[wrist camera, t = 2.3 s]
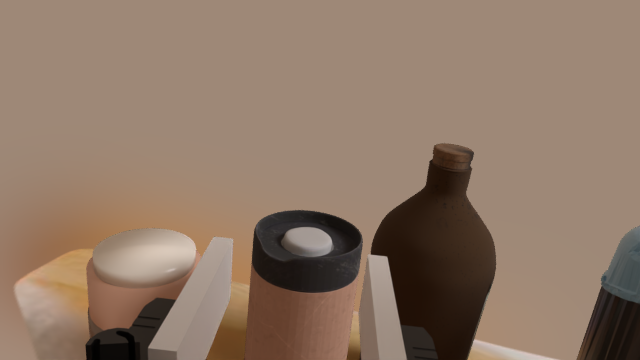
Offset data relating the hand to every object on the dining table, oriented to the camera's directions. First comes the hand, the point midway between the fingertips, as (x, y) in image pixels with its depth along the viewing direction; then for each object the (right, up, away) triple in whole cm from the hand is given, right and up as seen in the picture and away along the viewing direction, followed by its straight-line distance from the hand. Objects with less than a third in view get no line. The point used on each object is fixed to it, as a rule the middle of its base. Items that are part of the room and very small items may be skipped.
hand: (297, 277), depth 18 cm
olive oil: (+9, -17, +27) cm, 34 cm away
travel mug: (-2, -19, +20) cm, 27 cm away
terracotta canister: (-15, -15, +25) cm, 33 cm away
